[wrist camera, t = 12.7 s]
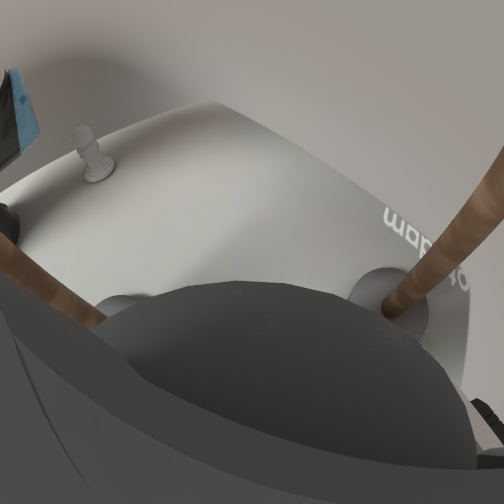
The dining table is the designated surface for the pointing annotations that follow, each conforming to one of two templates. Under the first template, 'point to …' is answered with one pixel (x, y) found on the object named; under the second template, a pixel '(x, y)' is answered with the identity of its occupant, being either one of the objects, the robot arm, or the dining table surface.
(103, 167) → the chess piece
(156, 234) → the dining table surface
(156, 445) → the water bottle
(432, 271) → the walnut post
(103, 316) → the walnut post
